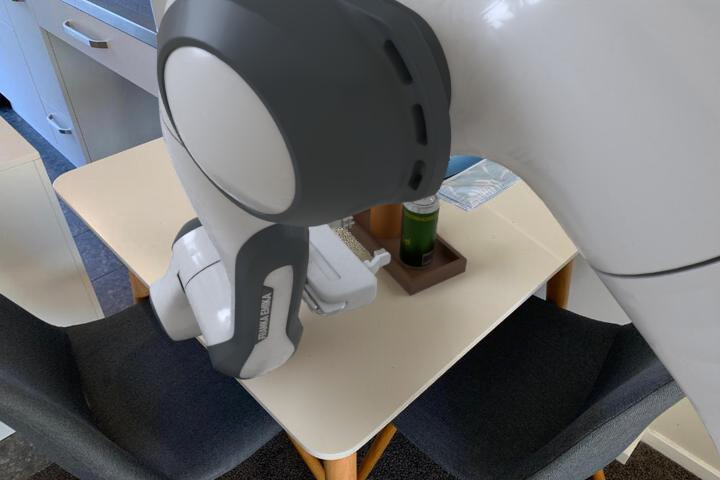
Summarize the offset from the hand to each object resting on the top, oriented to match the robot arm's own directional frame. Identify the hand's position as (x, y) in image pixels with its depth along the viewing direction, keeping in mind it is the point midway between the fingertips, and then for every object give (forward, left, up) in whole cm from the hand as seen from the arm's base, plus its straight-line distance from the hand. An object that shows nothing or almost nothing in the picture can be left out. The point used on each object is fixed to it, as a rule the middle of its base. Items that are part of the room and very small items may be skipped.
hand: (369, 236), depth 74 cm
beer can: (0, -9, -9) cm, 12 cm away
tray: (+9, -9, -9) cm, 16 cm away
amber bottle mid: (+9, -9, -8) cm, 15 cm away
